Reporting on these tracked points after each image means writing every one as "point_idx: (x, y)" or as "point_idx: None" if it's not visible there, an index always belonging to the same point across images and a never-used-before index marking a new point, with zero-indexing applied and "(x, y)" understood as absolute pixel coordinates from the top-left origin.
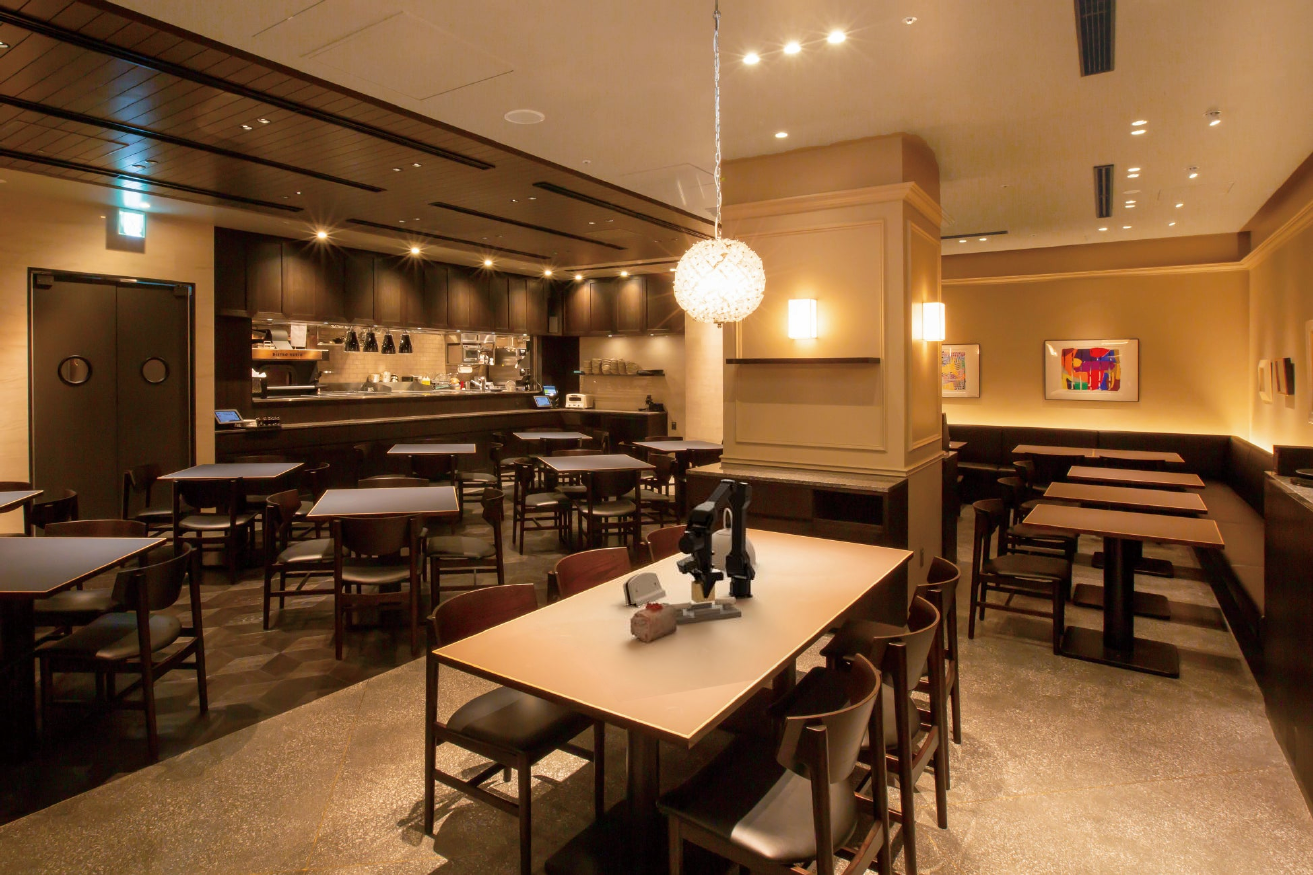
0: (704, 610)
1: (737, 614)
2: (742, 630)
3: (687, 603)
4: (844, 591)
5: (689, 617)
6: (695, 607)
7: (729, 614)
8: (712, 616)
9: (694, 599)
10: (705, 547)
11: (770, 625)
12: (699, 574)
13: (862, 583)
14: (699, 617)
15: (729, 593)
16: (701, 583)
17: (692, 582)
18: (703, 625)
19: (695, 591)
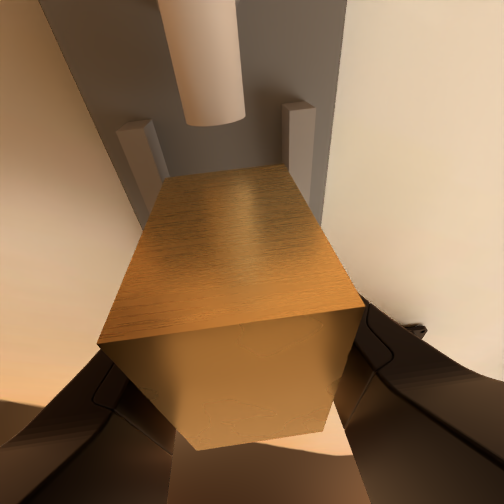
0: (147, 205)
1: None
2: (3, 292)
3: (193, 84)
4: (297, 440)
5: (81, 53)
6: None
7: None
8: (144, 227)
9: (210, 180)
10: None
11: (89, 359)
12: (402, 477)
13: (320, 450)
14: (106, 146)
15: (418, 327)
16: (150, 391)
17: (302, 299)
18: (37, 141)
19: (171, 235)
